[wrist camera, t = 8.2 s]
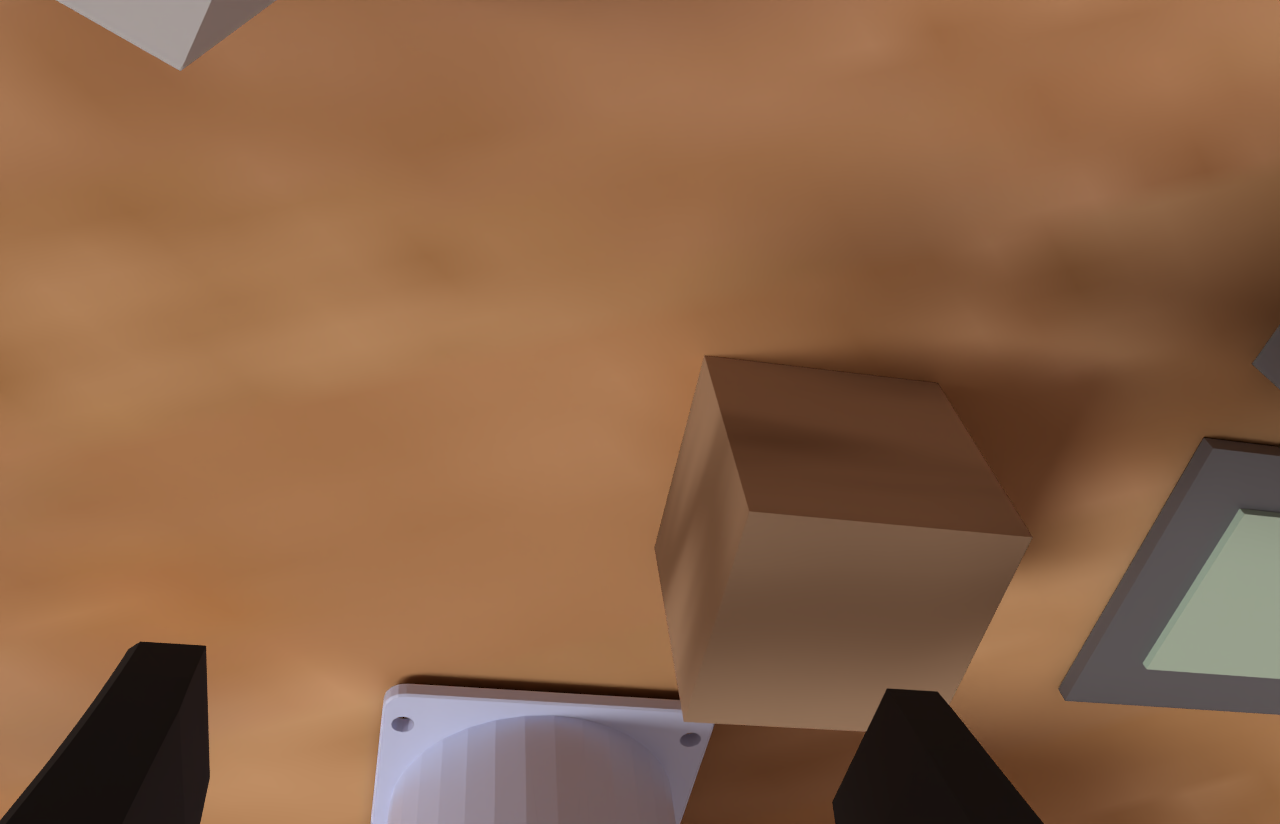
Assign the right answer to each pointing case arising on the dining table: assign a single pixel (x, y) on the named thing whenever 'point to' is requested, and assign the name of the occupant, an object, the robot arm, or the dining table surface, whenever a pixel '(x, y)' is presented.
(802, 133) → the dining table surface
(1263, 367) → the slate base
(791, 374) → the walnut block
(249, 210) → the dining table surface
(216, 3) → the grey rock
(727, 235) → the dining table surface
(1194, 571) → the grey square plate
